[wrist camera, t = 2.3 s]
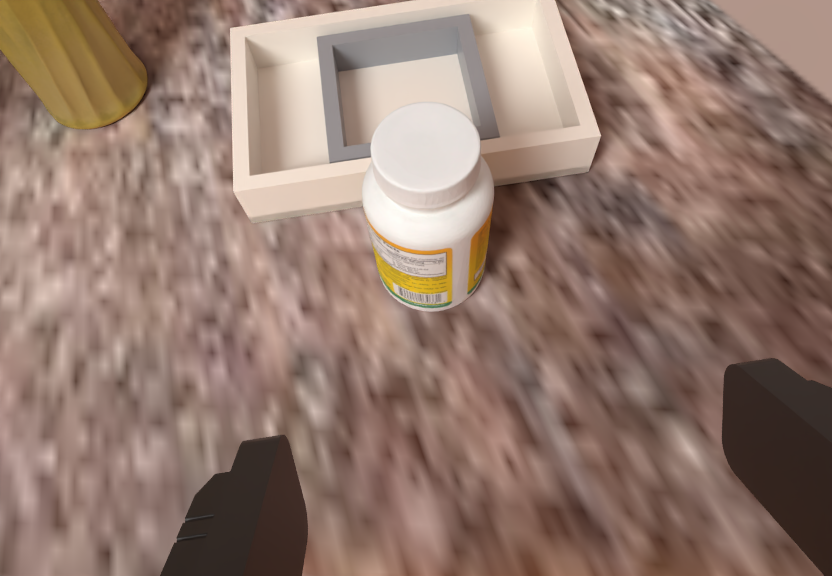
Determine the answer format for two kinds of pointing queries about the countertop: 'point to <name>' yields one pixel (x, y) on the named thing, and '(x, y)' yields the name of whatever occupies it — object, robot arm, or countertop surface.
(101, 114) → the vase
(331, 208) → the walled box
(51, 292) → the countertop surface
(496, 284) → the countertop surface
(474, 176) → the supplement bottle
